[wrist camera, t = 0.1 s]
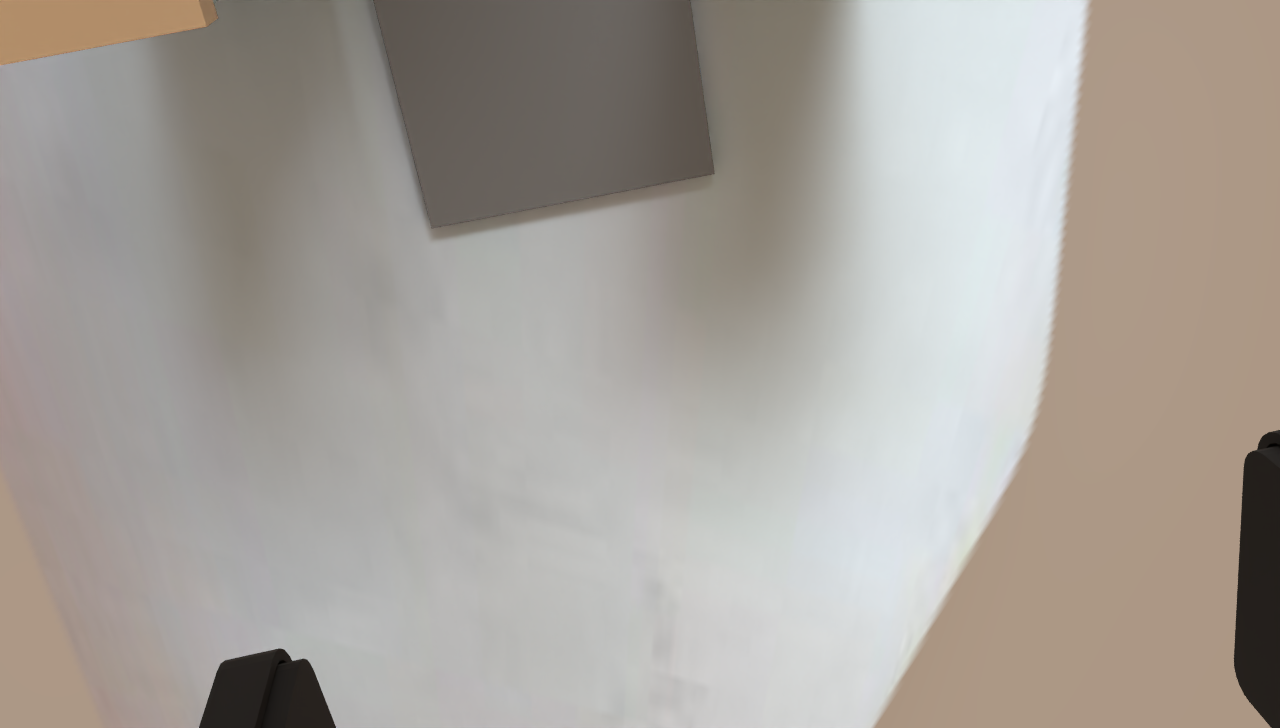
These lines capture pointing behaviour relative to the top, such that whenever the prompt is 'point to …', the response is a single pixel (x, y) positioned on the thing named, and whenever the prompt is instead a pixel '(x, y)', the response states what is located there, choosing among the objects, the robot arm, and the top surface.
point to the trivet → (545, 99)
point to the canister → (91, 24)
